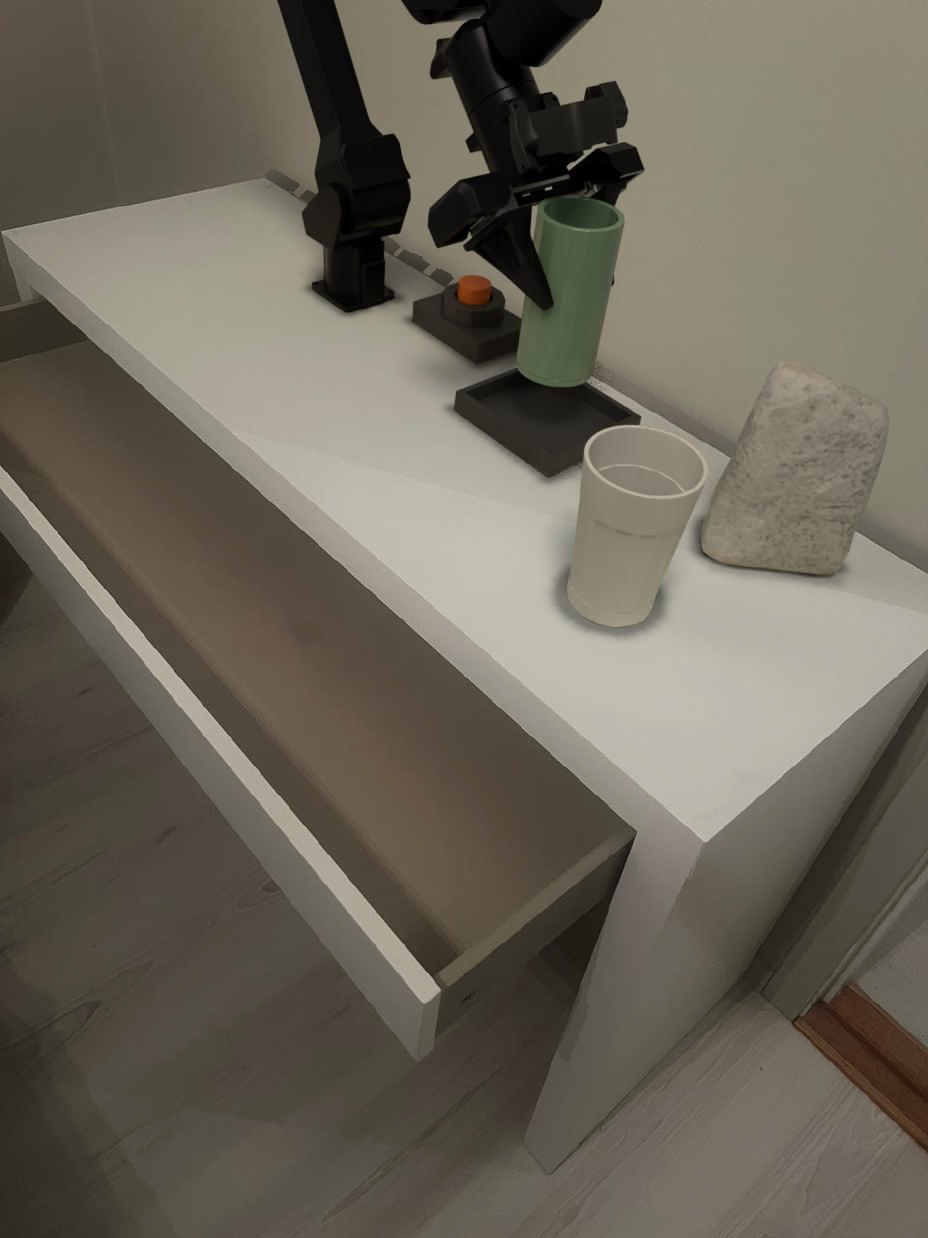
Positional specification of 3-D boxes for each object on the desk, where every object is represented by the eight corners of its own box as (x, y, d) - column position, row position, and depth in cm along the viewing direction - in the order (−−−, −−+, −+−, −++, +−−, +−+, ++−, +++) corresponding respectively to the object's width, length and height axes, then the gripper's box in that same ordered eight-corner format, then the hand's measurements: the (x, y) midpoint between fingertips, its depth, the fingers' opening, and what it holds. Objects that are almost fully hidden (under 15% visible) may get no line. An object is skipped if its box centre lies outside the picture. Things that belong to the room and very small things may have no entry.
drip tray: (453, 410, 83) (455, 390, 82) (542, 374, 89) (545, 356, 88) (548, 478, 77) (551, 458, 76) (637, 435, 83) (642, 416, 82)
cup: (661, 645, 65) (707, 509, 56) (548, 622, 65) (577, 484, 57) (666, 571, 70) (709, 437, 62) (562, 550, 71) (590, 415, 62)
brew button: (450, 296, 91) (451, 279, 90) (474, 288, 93) (476, 271, 92) (471, 309, 90) (473, 292, 88) (496, 301, 91) (498, 284, 90)
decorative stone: (834, 542, 74) (914, 376, 64) (840, 591, 70) (926, 422, 60) (698, 516, 75) (755, 348, 65) (696, 563, 71) (757, 391, 61)
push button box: (412, 321, 94) (413, 283, 92) (463, 304, 98) (467, 267, 95) (476, 364, 89) (480, 325, 87) (529, 345, 93) (534, 307, 90)
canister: (503, 371, 78) (523, 215, 69) (533, 339, 82) (557, 188, 73) (575, 396, 76) (607, 238, 67) (603, 361, 81) (636, 209, 71)
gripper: (466, 52, 60) (558, 285, 62) (654, 26, 69) (728, 229, 72) (387, 143, 69) (470, 341, 72) (563, 109, 79) (631, 285, 81)
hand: (579, 297), depth 74 cm, fingers closed on canister, 6 cm apart
